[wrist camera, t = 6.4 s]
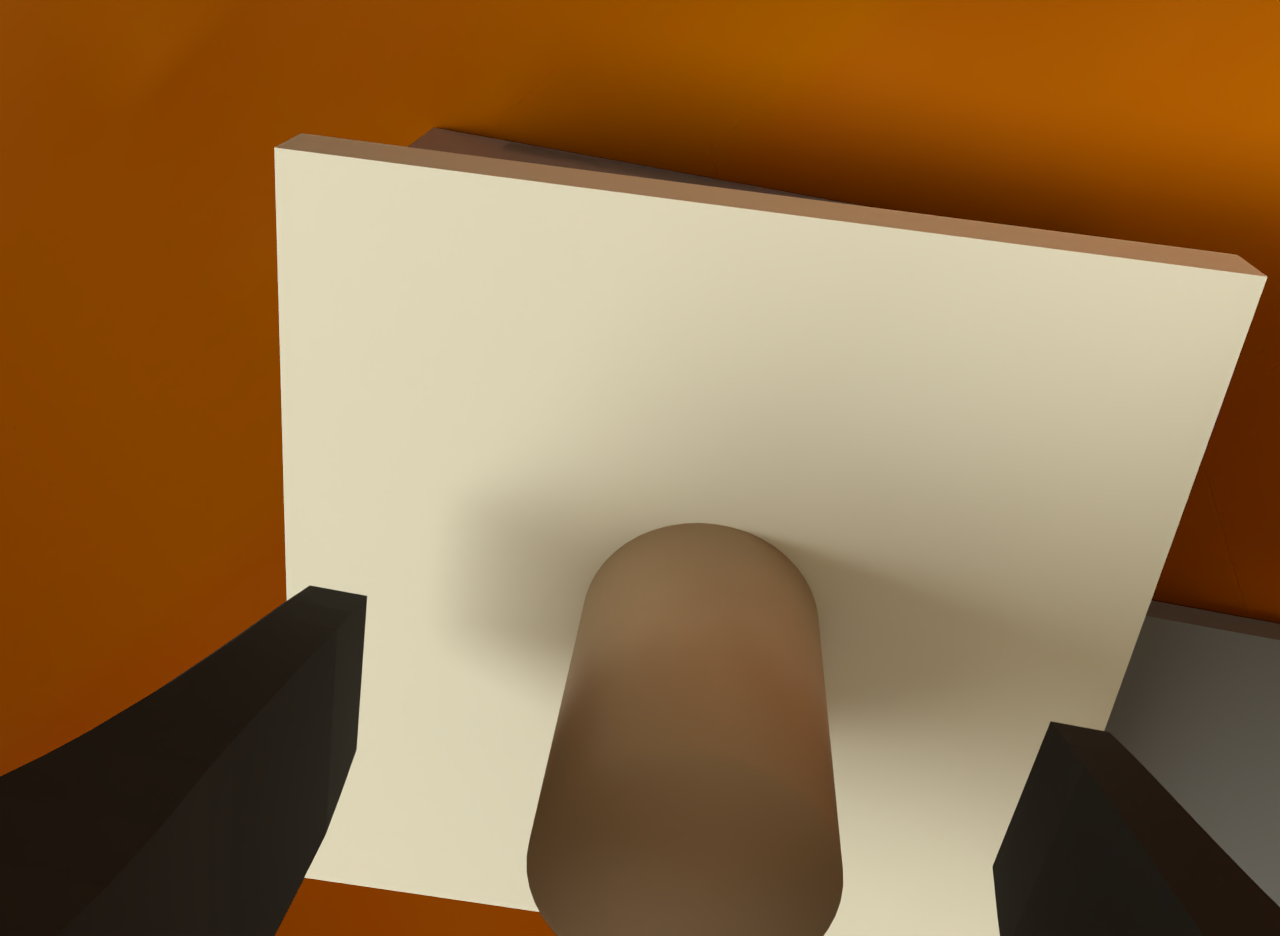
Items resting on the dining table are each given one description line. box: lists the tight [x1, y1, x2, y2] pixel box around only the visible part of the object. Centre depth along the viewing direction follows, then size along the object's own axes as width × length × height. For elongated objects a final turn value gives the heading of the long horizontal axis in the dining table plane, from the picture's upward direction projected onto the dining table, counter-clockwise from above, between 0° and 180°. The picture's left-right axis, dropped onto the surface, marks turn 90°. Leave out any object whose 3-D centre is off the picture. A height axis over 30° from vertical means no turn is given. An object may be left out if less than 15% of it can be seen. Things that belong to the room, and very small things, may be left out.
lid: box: [274, 133, 1267, 936], centre depth 13 cm, size 10×10×5 cm
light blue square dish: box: [408, 128, 867, 207], centre depth 16 cm, size 9×9×3 cm
